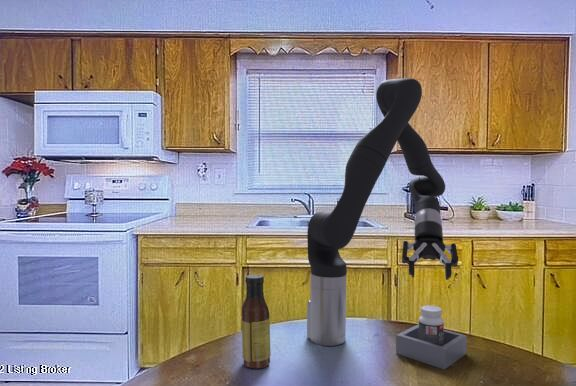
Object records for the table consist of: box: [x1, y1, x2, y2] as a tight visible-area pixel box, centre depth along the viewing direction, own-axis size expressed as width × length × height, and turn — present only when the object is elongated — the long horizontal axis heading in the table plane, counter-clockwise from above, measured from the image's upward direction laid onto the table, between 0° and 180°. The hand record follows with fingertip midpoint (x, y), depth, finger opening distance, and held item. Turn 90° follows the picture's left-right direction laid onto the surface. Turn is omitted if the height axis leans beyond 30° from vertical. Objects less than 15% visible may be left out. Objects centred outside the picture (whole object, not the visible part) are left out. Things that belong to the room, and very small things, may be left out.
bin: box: [395, 323, 468, 370], centre depth 102 cm, size 12×12×4 cm
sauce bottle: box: [241, 273, 272, 370], centre depth 95 cm, size 6×6×20 cm
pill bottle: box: [418, 304, 445, 346], centre depth 103 cm, size 6×6×10 cm
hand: (430, 276), depth 111 cm, fingers open, 8 cm apart
